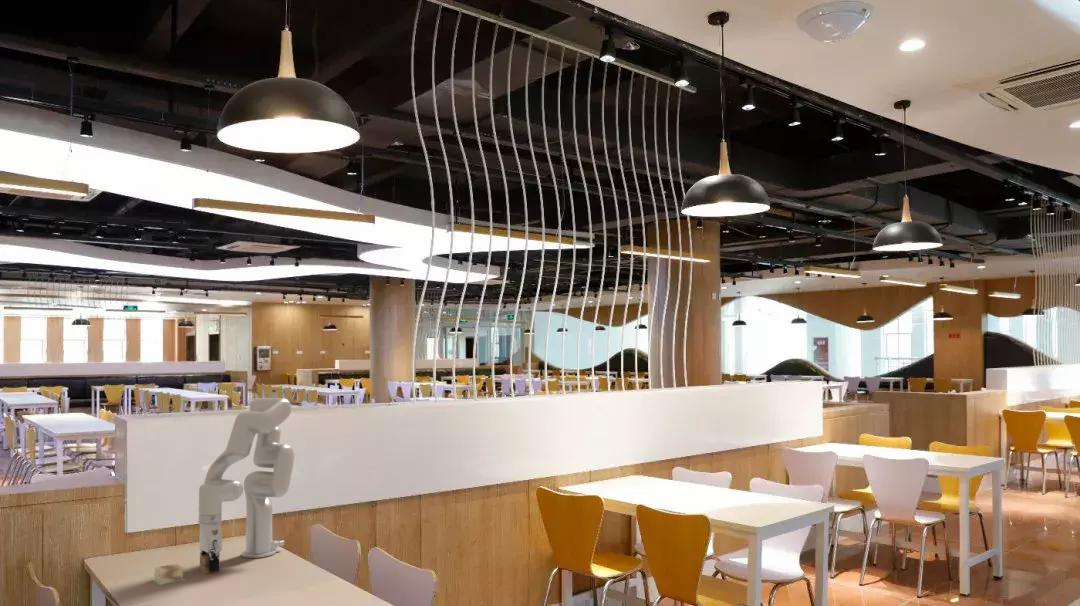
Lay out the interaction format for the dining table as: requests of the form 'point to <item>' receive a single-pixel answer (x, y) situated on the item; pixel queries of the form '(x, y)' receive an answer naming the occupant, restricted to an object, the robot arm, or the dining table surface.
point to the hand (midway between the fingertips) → (209, 568)
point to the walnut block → (205, 563)
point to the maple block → (168, 573)
